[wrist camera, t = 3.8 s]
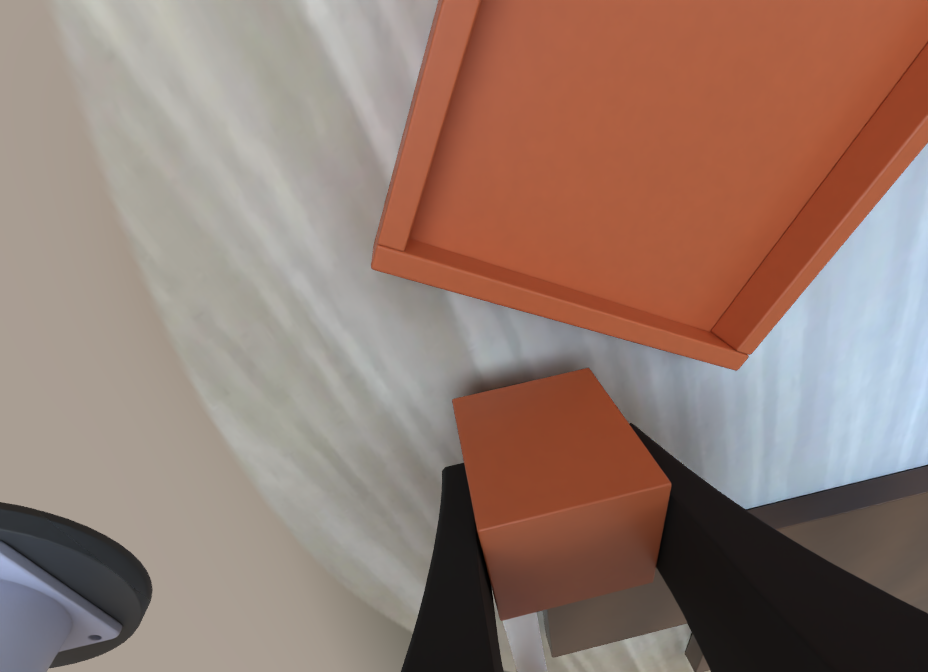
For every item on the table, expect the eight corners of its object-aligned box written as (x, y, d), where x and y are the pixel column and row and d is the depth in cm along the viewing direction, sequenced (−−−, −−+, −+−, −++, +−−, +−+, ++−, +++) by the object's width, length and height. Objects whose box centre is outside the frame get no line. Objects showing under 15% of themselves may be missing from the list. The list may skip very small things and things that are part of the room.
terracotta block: (472, 487, 13) (500, 622, 10) (451, 398, 11) (477, 531, 8) (588, 459, 13) (654, 583, 10) (588, 366, 11) (673, 483, 8)
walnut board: (552, 687, 29) (558, 709, 28) (536, 561, 19) (544, 587, 18) (964, 581, 30) (984, 598, 29) (1140, 412, 20) (1180, 429, 19)
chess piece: (452, 570, 18) (501, 974, 10) (431, 506, 16) (473, 985, 7) (555, 545, 19) (688, 921, 10) (551, 478, 16) (727, 911, 8)
